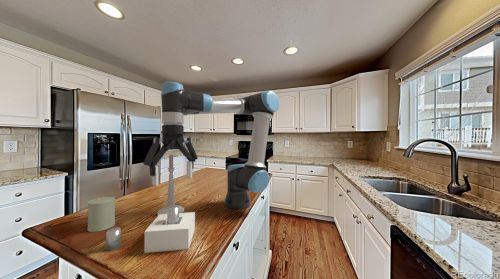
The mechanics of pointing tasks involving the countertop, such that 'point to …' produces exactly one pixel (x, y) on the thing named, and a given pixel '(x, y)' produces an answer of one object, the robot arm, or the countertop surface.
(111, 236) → the short pin
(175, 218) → the long pin
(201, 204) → the countertop surface
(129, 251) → the countertop surface
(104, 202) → the can
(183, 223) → the hole block
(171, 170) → the candlestick
